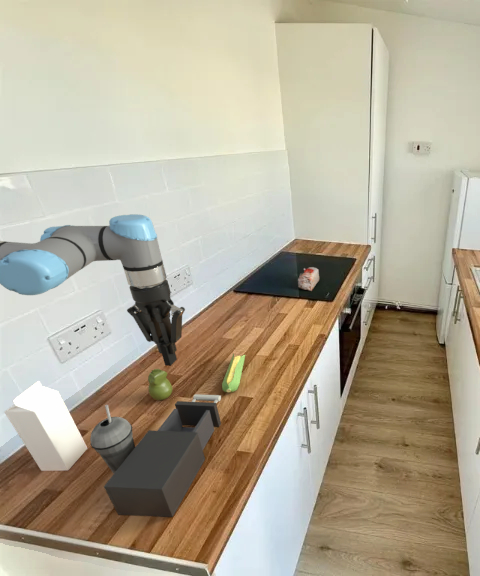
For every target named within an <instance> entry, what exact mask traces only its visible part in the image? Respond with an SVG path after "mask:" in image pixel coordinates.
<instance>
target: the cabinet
mask: <svg viewBox="0 0 480 576" xmlns="http://www.w3.org/2000/svg"><path fill="white" fill-rule="evenodd" d="M205 460H206V458H205V454H204V449H203V450H202V446H201V443H200V439H199V436H198V432H176V431H158V430H151V429H148V431H147V432H146V433H145V434H144V435H143V437H142V438H141V439H140V440H139V442H138V443H137V444H136V445H135V448H134V449H133V451H132V452H131V453H130V454H129V456H128V457H127V458H126V459H125V461H124V462H123V463H122V464H121V466H120V467H119V468H118V469H117V471H116V472H115V473H114V474H113V473H112V475H111V477H110V478H109V480H107V482H106V483H105V484H104V485H103V489H104V491H105V492H106V494H107V496H108V498H109V500H110V502H111V504H112V506H113V508H114V510H115V511H116V513H117V515H118V516H135V517H136V516H137V517H157V518H159V517H160V518H163V517H164V518H173V517H174V516H175V514H176V512H177V511H178V509H179V507H180V505H181V504H182V502H183V500H184V498H185V496H186V495H187V493H188V491H189V489H190V487H191V486H192V483H193V482H194V480H195V478H196V477H197V475H198V473H199V471H200V469H201V468H202V466H203V464H204V462H205Z"/></svg>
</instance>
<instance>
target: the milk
mask: <svg viewBox="0 0 480 576" xmlns="http://www.w3.org/2000/svg"><path fill="white" fill-rule="evenodd" d="M12 403H13V404H12V405H11V406H9V407H8V408H7V409H6V410H4V414H5V416H6V417H7V419H8V420H9V422H10V424H11V425H12V426H13V428H14V429H15V432H16V433H17V434H18V437H19V438H20V440H21V441H22V442H23V444H24V446H25V448H26V449H27V451H28V452H29V453H30V456H31V457H32V458H33V460H34V462H35V463H36V465H37V466H38V468H39V470H40V471H41V472H56V471H57V472H60V471H61V472H62V471H63V472H64V471H65V472H67V471H69V470H70V469H71V468H72V467H73V466H74V465H75V464H76V462H78V460H79V459H80V458H81V456H83V454H84V453H85V452H86V451H87V450H88V447H87V444H86V442H85V440H84V438H83V436H82V434H81V432H80V430H79V429H78V427H77V425H76V423H75V420H74V418H73V417H72V414H71V413H70V411H69V409H68V407H67V405H66V403H65V401H64V399H63V397H62V395H61V393H60V391H59V390H56V389H53V388H50V387H48V386H44V385H42V383H41V381H40V380H37V381H36V382H34V383H33V384H31V385H29V387H28V388H27V389H25V390H23V392H21V393H20V394H18V395H17V396H15V398H13V399H12Z"/></svg>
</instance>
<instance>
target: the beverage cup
mask: <svg viewBox="0 0 480 576" xmlns="http://www.w3.org/2000/svg"><path fill="white" fill-rule="evenodd" d="M104 408H105V412H106V416H107V418H105V419H102V420H101V421H100V422H98V423H97V424H96V425H95V426H94V427H93V429H92V430H91V432H90V438H89V439H90V446H91V448H92V449H94V451H95V452H96V453H98V454H99V455H100V457H101V458H102V460H103V461H104V462H105V464H106V465H107V467H108V468H109V469H110V471H111V473H112V475H113V474H114V473H115V472H116V471H117V469H118V468H119V467H120V466H121V464H122V463H123V462H124V461H125V459H126V458H127V457H128V456H129V454H130V453H131V452H132V451H133V449H134V448H135V447H136V444H135V441H134V437H133V425H132V424H131V423H130V422H129V421H128V420H127V419H125V418H123V417H122V416H111V412H110V408H109V405H108V404H106V405H104Z"/></svg>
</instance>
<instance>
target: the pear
mask: <svg viewBox="0 0 480 576" xmlns="http://www.w3.org/2000/svg"><path fill="white" fill-rule="evenodd" d="M167 377H168V372H167V371H165V370H162V369H160V368H154V369H151V372H149V374H148V377H147V381H148V384H149V385H148V387H147V388H148V394H149V396H150V397H151V398H152V399H153V400H155V401H164V400H166V399H168V398H169V397H170V396H171V395H172V393H173V385H172V384H171V382H170V380H169V379H168V378H167Z"/></svg>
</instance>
